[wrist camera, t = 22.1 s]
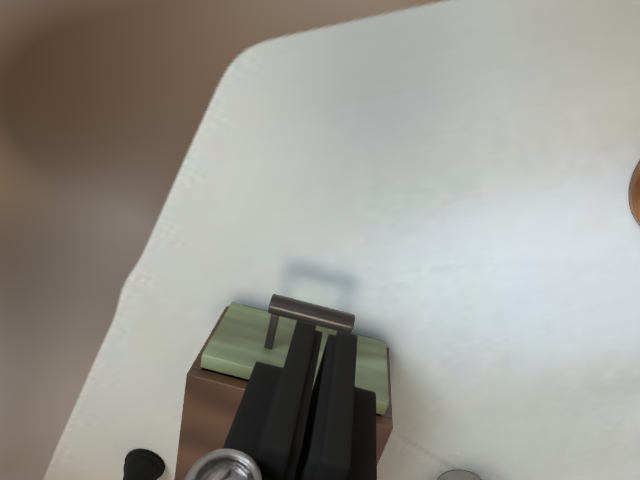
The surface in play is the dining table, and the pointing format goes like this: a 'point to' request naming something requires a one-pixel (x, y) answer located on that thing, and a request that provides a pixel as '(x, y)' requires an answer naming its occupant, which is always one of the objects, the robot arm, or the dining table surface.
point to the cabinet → (229, 413)
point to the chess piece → (142, 465)
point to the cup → (458, 475)
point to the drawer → (275, 337)
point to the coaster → (635, 193)
